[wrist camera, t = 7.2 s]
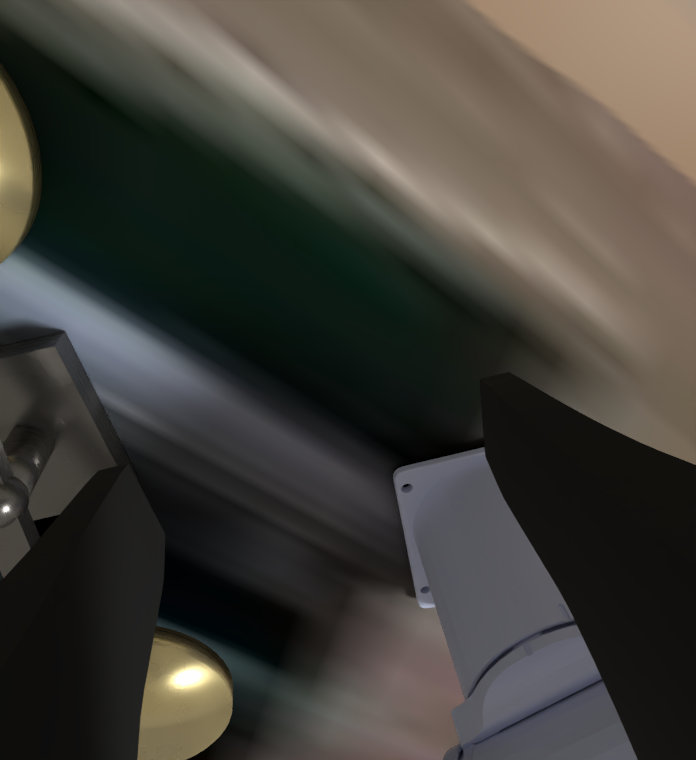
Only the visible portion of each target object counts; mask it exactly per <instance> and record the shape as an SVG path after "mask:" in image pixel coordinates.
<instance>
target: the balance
mask: <svg viewBox="0 0 696 760" xmlns="http://www.w3.org/2000/svg"><path fill="white" fill-rule="evenodd" d="M41 191H42V163H41V154H40V147H39V143H38V139H37V135H36V131H35V128H34V125H33V122H32V120H31V117H30V114H29V112H28V109H27V106H26V104H25V102H24V100H23V98H22V96H21V94H20V93H19V91H18V89H17V87H16V85H15V83H14V82H13V80H12V78H11V77H10V75H9V74H8V72H7V71H6V69H5V68H4V66H3V65H2V63H1V62H0V264H1V263H2V262H4V261H5V260H6V259H7V258H8V257H9V256H10V255H11V254H12V253H13V252H14V251H15V250H16V249H17V248H18V247H19V245H20V244H21V243H22V241H23V240H24V239H25V237H26V236H27V234H28V232H29V230H30V228H31V226H32V224H33V222H34V219H35V216H36V213H37V210H38V207H39V203H40V197H41ZM127 463H129V465H130V467H131V469H132V471H133V473H134V475H135V477H136V479H137V481H138V476H137V474H136V472H135V470H134V468H133V466H132V464H131V462H130V460H129V458H128V456H127V454H126V452H125V450H124V448H123V446H122V444H121V442H120V440H119V438H118V436H117V434H116V432H115V430H114V428H113V426H112V424H111V422H110V420H109V418H108V416H107V414H106V412H105V410H104V408H103V406H102V404H101V402H100V400H99V398H98V396H97V394H96V392H95V390H94V388H93V386H92V384H91V382H90V380H89V378H88V376H87V374H86V372H85V370H84V368H83V366H82V364H81V362H80V360H79V358H78V356H77V354H76V352H75V350H74V348H73V346H72V344H71V342H70V340H69V338H68V336H67V334H66V332H65V331H64V332H60V333H55V334H51V335H47V336H42V337H38V338H34V339H29V340H25V341H21V342H16V343H12V344H8V345H3V346H0V572H1V574H2V576H3V578H4V577H5V576H6V575H7V574H8V573H9V572H10V571H11V570H12V569H13V567H14V566H15V565H16V564H17V563H18V562H19V561H20V560H21V559H22V558H23V557H24V556H25V554H26V553H27V552H28V551H29V550H30V549H31V548H32V547H33V545H34V544H35V543H36V542H37V541H38V540H39V538H40V536H39V534H38V531H37V529H36V526H35V524H34V520H38V519H43V518H47V517H51V516H55V515H60V514H61V513H62V511H63V510H64V509H65V508H66V507H67V505H68V504H69V503H70V502H71V501H72V499H73V498H74V497H75V496H76V495H77V494H78V492H79V491H80V490H81V489H82V488H83V487H84V485H85V484H86V483H87V482H88V481H89V480H90V479H91V478H92V477H93V476H94V475H95V473H96V472H97V471H98V470H102V469H107V468H111V467H115V466H119V465H123V464H127ZM232 702H233V681H232V676H231V674H230V671H229V669H228V667H227V666H226V664H225V663H224V661H223V660H222V659H221V658H220V657H219V656H218V654H217V653H215V652H214V651H213V650H212V649H211V648H209V647H208V646H207V645H205V644H203V643H202V642H200V641H198V640H197V639H194V638H192V637H190V636H188V635H186V634H183V633H180V632H177V631H174V630H171V629H167V628H163V627H159V626H156V628H155V634H154V639H153V645H152V650H151V656H150V661H149V667H148V672H147V678H146V683H145V689H144V695H143V703H142V710H141V718H140V731H139V744H138V757H137V760H186V759H188V758H190V757H192V756H194V755H196V754H198V753H199V752H201V751H203V750H204V749H206V748H207V747H208V746H210V745H211V744H212V743H213V742H214V741H215V740H216V739H217V738H218V737H219V736H220V735H221V734H222V733H223V731H224V730H225V729H226V727H227V725H228V723H229V721H230V717H231V714H232Z"/></svg>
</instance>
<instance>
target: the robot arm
mask: <svg viewBox="0 0 696 760" xmlns="http://www.w3.org/2000/svg"><path fill="white" fill-rule="evenodd" d="M479 380H480V393H481V406H482V420H483V433H484V447H483V448H478V449H474V450H470V451H466V452H462V453H457V454H453V455H449V456H445V457H440V458H436V459H432V460H428V461H424V462H419V463H415V464H411V465H407V466H402V467H400V468H398V469H397V470H395V472H394V474H393V480H394V485H395V491H396V496H397V501H398V506H399V511H400V516H401V521H402V526H403V532H404V537H405V542H406V547H407V552H408V557H409V562H410V567H411V573H412V578H413V583H414V588H415V593H416V598H417V602H418V605H419V606H420V607H422V608H430V607H434V606H436V609H437V612H438V616H439V619H440V622H441V625H442V628H443V632H444V635H445V638H446V641H447V644H448V647H449V651H450V654H451V657H452V660H453V663H454V667H455V670H456V673H457V676H458V679H459V682H460V686H461V689H462V692H463V695H464V698H465V701H464V702H463V703H462V704H461V705H459V706H457V707H456V708H454V709H452V711H451V714H452V717H453V721H454V724H455V728H456V731H457V735H458V738H459V742H460V744H458V745H456V746H454V747H452V748H450V749H449V750H448V751H447V753H446V754H445V755H444V758H443V760H696V465H694V464H692V463H689V462H686V461H684V460H681V459H679V458H676V457H674V456H671V455H668V454H666V453H663V452H661V451H658V450H656V449H654V448H651V447H649V446H647V445H644V444H642V443H640V442H638V441H636V440H633V439H631V438H629V437H627V436H625V435H623V434H621V433H619V432H617V431H614V430H612V429H610V428H608V427H606V426H604V425H602V424H600V423H598V422H596V421H594V420H593V419H591V418H589V417H587V416H585V415H583V414H581V413H580V412H578V411H576V410H574V409H572V408H570V407H569V406H567V405H565V404H563V403H562V402H560V401H558V400H556V399H555V398H553V397H551V396H549V395H548V394H546V393H544V392H543V391H541V390H539V389H537V388H536V387H534V386H532V385H531V384H529V383H527V382H526V381H524V380H522V379H520V378H519V377H517V376H515V375H513V374H512V373H510V372H507V373H503V374H498V375H494V376H490V377H486V378H482V379H479ZM405 484H410V485H409V486H407V487H402V486H403V485H405ZM164 562H165V533H164V531H163V529H162V527H161V525H160V523H159V521H158V519H157V517H156V516H155V514H154V512H153V510H152V508H151V506H150V504H149V502H148V500H147V498H146V496H145V494H144V492H143V490H142V488H141V487H140V485H139V483H138V481H137V479H136V477H135V475H134V473H133V471H132V469H131V467H130V465H129V463H127V464H123V465H119V466H115V467H111V468H107V469H102V470H98V471H97V472H96V473H95V475H94V476H93V477H92V478H91V479H90V480H89V481H88V482H87V483H86V484H85V485H84V487H83V488H82V489H81V490H80V491H79V492H78V494H77V495H76V496H75V497H74V498H73V499H72V501H71V502H70V503H69V504H68V505H67V507H66V508H65V509H64V510H63V511H62V513H61V514H60V515H59V516H58V517H57V518H56V520H55V521H54V522H53V523H52V524H51V525H50V527H49V528H48V529H47V530H46V531H45V533H44V534H43V535H42V536H41V537H40V538H39V540H38V541H37V542H36V543H35V544H34V545H33V547H32V548H31V549H30V550H29V551H28V552H27V553H26V554H25V556H24V557H23V558H22V559H21V560H20V561H19V562H18V563H17V564H16V565H15V566H14V567H13V569H12V570H11V571H10V572H9V573H8V574H7V575H6V576H5V577H4V578H3V579H2V581H1V582H0V760H137V757H138V744H139V731H140V718H141V710H142V703H143V695H144V689H145V683H146V678H147V672H148V667H149V661H150V656H151V650H152V645H153V639H154V634H155V628H156V623H157V617H158V611H159V605H160V599H161V594H162V587H163V581H164Z"/></svg>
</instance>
